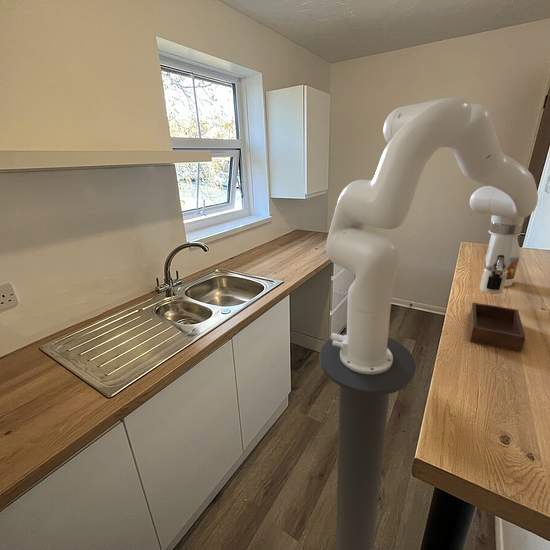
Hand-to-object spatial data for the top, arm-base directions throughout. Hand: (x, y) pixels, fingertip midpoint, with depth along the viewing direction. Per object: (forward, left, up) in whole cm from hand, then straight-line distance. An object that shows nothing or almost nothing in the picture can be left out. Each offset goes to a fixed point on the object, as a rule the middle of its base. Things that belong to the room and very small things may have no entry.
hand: (492, 284), depth 93 cm
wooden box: (0, -18, -6) cm, 19 cm away
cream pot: (0, 0, -2) cm, 2 cm away
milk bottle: (+4, +18, -7) cm, 19 cm away
